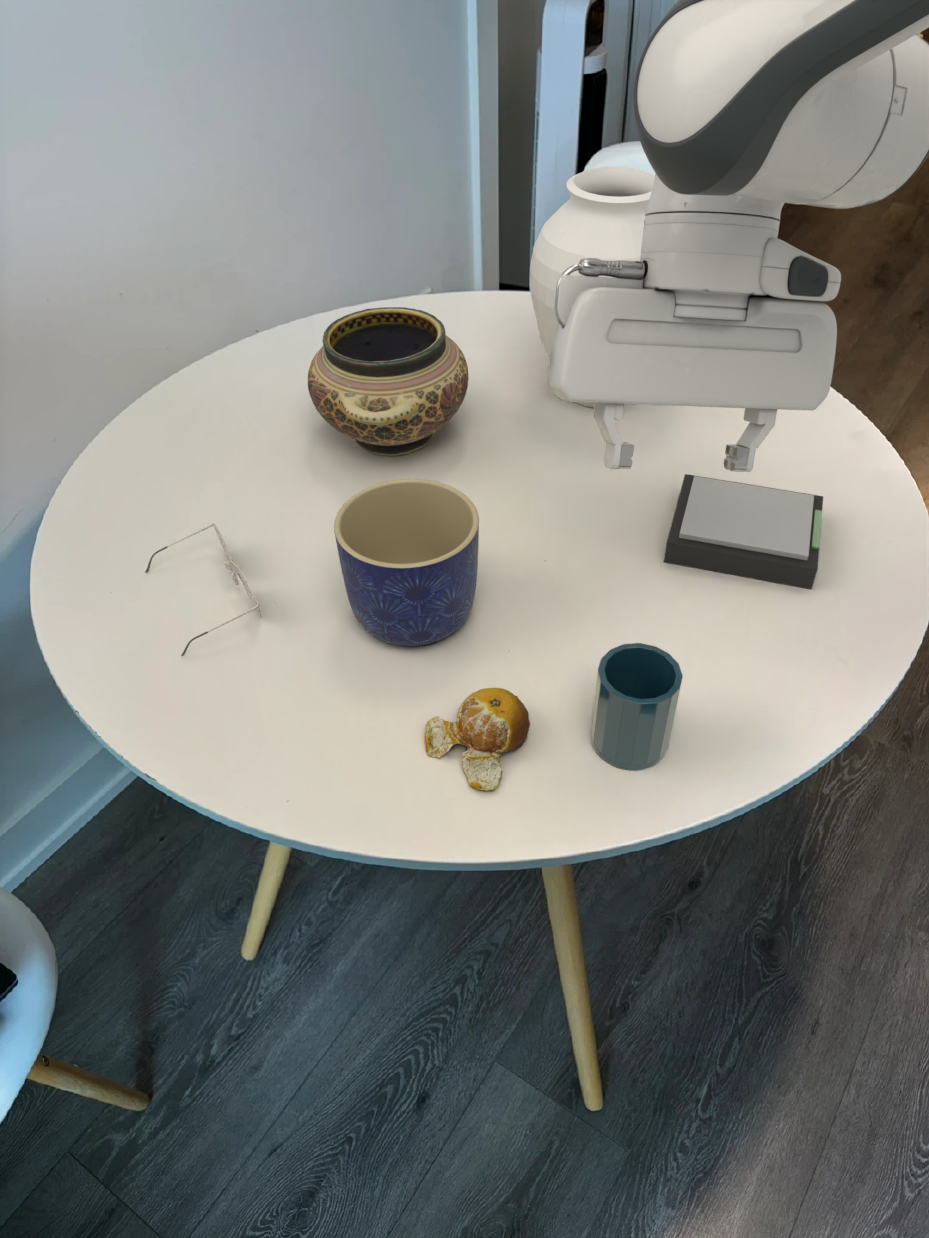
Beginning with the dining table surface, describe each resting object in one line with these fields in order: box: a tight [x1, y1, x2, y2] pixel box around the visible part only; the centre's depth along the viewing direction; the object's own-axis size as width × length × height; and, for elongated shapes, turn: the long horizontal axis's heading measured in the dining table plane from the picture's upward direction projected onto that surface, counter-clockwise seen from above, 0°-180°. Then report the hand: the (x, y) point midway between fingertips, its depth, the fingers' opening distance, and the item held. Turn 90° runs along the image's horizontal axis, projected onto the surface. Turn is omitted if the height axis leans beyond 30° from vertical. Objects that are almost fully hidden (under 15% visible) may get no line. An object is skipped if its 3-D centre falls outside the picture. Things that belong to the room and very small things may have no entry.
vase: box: [529, 166, 655, 409], centre depth 106 cm, size 18×18×25 cm
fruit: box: [424, 687, 531, 792], centre depth 74 cm, size 8×8×4 cm
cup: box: [590, 642, 684, 771], centre depth 72 cm, size 6×6×8 cm
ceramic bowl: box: [307, 306, 469, 457], centre depth 104 cm, size 24×18×15 cm
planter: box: [333, 478, 480, 647], centre depth 82 cm, size 12×12×11 cm
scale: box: [663, 473, 824, 590], centre depth 92 cm, size 14×12×3 cm
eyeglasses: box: [144, 522, 262, 657], centre depth 87 cm, size 14×8×4 cm, turn 28°
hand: (678, 469), depth 67 cm, fingers open, 8 cm apart
